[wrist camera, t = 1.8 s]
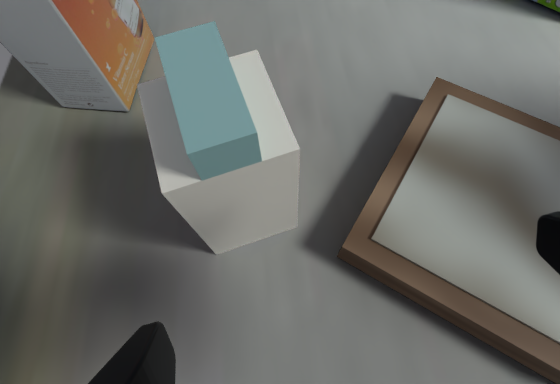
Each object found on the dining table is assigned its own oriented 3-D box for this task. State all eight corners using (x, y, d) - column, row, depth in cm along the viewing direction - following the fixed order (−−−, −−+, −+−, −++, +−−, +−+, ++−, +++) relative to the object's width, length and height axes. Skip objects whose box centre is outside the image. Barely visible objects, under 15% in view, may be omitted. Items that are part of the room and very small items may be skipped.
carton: (297, 226, 23) (301, 118, 12) (216, 254, 22) (140, 169, 11) (270, 157, 25) (252, 10, 14) (196, 181, 24) (115, 48, 13)
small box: (130, 114, 27) (38, -14, 17) (62, 109, 27) (-66, -19, 17) (157, 38, 30) (91, -108, 20) (95, 34, 30) (2, -110, 21)
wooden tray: (570, 391, 18) (613, 399, 16) (336, 256, 22) (342, 245, 19) (624, 186, 23) (665, 167, 20) (424, 100, 26) (437, 74, 24)
